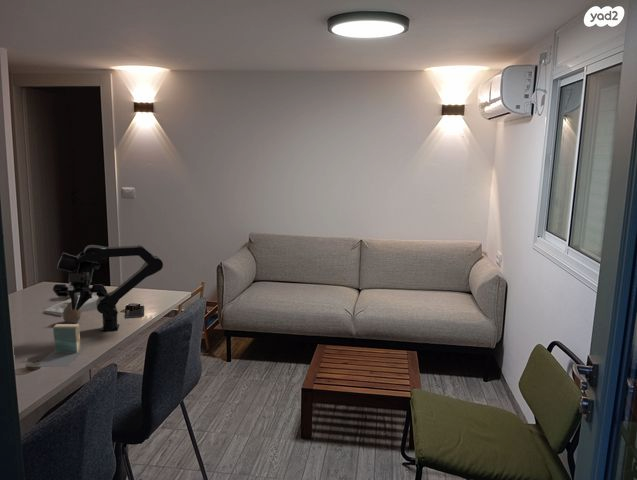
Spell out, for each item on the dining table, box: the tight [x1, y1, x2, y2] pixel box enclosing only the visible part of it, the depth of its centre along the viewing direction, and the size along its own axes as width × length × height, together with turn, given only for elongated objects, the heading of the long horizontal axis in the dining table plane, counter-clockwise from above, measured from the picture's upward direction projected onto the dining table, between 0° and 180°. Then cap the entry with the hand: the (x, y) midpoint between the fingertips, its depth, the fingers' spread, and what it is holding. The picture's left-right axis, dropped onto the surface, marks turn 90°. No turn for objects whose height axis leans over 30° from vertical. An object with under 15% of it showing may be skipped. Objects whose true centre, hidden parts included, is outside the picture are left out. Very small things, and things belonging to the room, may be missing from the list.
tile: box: [52, 323, 82, 353], centre depth 183 cm, size 3×8×10 cm, turn 94°
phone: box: [125, 305, 145, 319], centre depth 230 cm, size 8×1×15 cm
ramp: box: [43, 294, 99, 317], centre depth 232 cm, size 28×16×5 cm, turn 118°
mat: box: [35, 347, 87, 368], centre depth 180 cm, size 16×11×1 cm
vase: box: [62, 302, 82, 324], centre depth 215 cm, size 7×7×9 cm
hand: (75, 309), depth 191 cm, fingers closed
